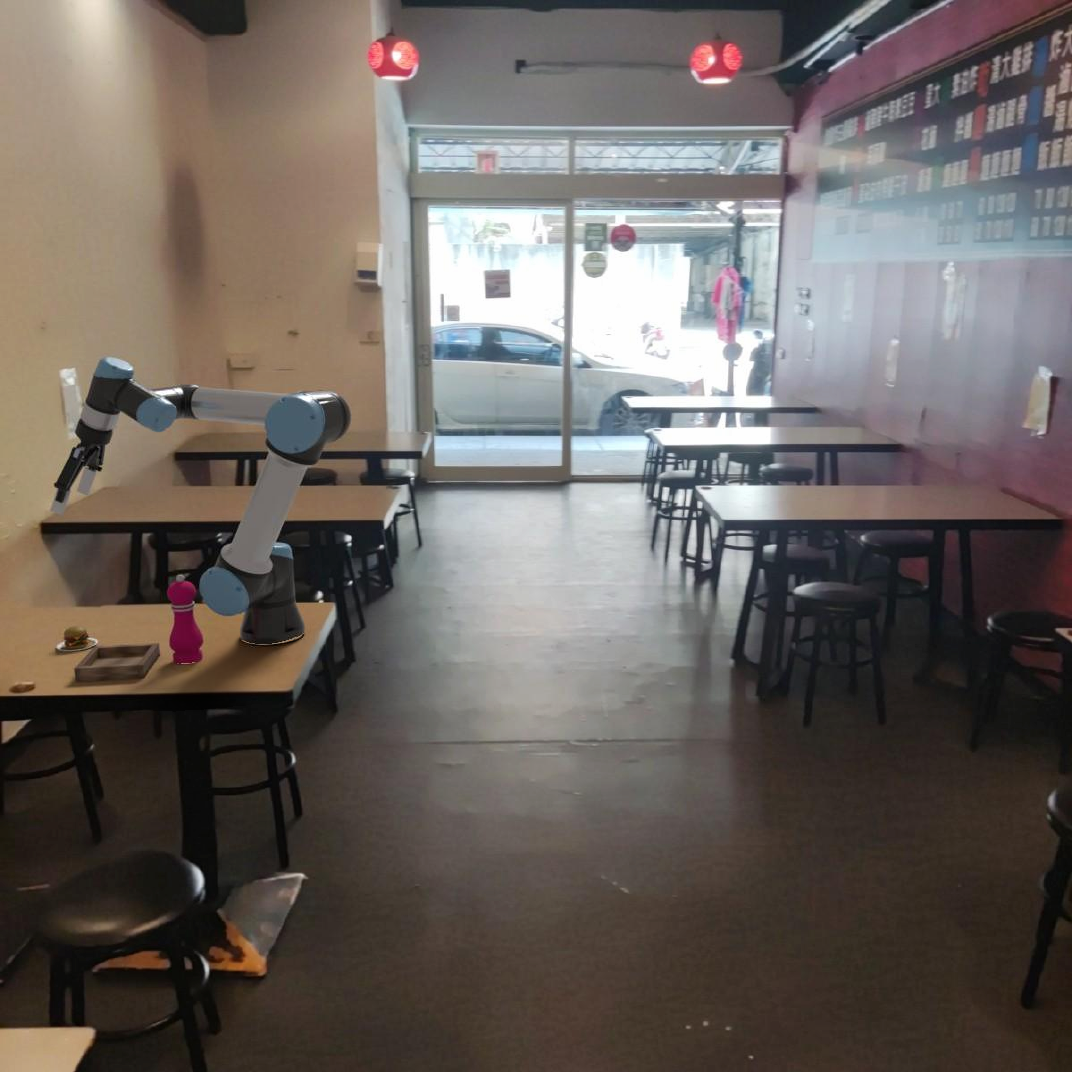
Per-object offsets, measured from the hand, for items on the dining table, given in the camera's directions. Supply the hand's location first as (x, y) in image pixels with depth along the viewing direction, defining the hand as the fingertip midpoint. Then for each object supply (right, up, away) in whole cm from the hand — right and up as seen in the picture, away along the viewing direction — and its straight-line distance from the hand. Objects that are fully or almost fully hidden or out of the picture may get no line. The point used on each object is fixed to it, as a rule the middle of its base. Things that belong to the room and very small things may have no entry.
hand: (69, 502), depth 223 cm
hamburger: (0, -35, +3) cm, 35 cm away
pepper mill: (+30, -36, -7) cm, 47 cm away
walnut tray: (+17, -37, -12) cm, 42 cm away
